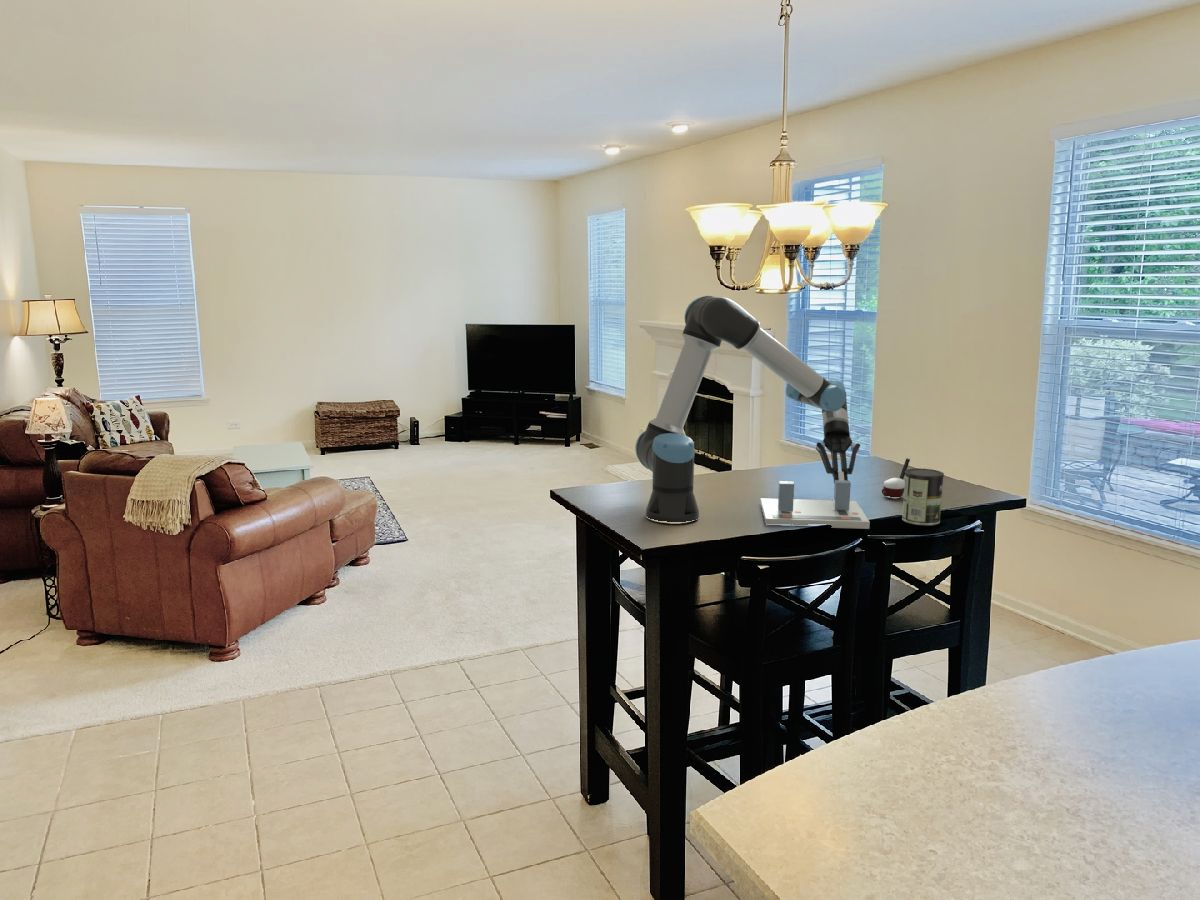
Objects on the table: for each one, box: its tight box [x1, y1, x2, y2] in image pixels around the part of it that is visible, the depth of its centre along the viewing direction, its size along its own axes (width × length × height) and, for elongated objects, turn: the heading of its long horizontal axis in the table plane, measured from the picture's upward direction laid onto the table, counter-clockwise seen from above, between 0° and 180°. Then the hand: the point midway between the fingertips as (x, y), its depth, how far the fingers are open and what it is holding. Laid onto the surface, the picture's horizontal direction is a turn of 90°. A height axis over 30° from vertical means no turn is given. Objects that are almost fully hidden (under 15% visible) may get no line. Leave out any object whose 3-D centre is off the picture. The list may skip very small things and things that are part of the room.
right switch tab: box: [833, 479, 852, 510], centre depth 248 cm, size 4×3×8 cm
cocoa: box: [881, 457, 911, 498], centre depth 269 cm, size 10×6×12 cm, turn 90°
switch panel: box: [759, 497, 871, 530], centre depth 250 cm, size 28×22×2 cm
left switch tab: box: [777, 480, 795, 511], centre depth 247 cm, size 4×3×8 cm
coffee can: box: [901, 467, 945, 526], centre depth 245 cm, size 10×10×14 cm
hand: (841, 493), depth 251 cm, fingers closed
